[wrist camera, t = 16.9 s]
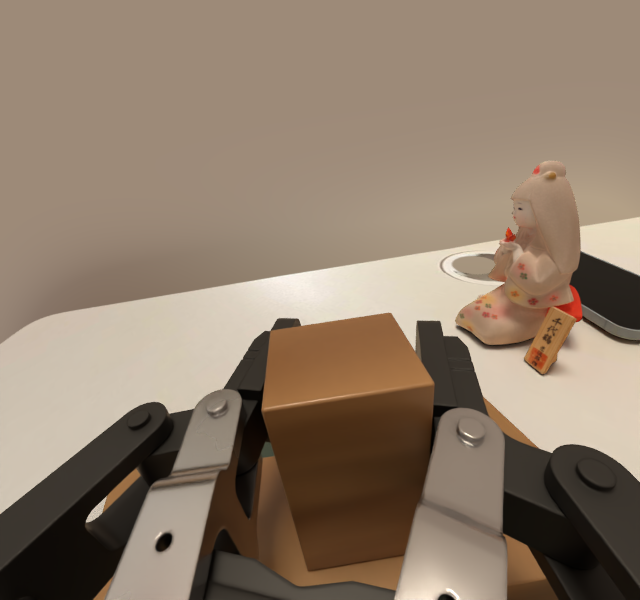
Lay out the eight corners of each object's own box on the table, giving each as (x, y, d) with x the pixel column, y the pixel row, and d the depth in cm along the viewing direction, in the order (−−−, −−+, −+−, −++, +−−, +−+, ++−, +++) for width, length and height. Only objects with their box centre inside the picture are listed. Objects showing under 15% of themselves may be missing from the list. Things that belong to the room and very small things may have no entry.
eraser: (554, 617, 9) (676, 389, 5) (198, 680, 9) (25, 493, 5) (469, 466, 14) (497, 278, 10) (229, 505, 14) (151, 330, 9)
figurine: (438, 307, 27) (471, 157, 22) (511, 306, 27) (560, 159, 22) (499, 375, 19) (576, 162, 13) (601, 372, 19) (715, 165, 14)
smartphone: (563, 243, 33) (742, 317, 20) (561, 251, 33) (734, 328, 20) (495, 253, 33) (627, 333, 20) (494, 261, 33) (622, 344, 20)
